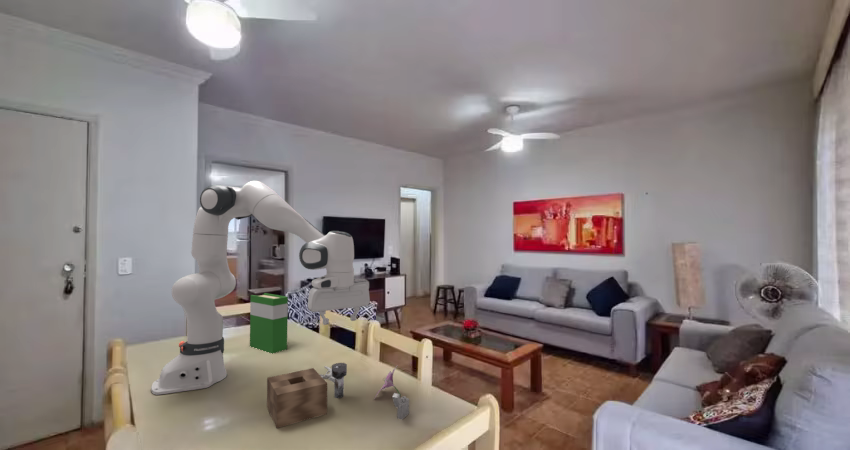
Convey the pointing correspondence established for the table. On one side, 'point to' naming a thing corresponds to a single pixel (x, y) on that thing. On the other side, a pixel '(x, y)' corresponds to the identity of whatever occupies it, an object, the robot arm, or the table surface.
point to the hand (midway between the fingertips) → (339, 322)
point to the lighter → (401, 405)
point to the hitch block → (296, 397)
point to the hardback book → (268, 322)
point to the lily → (388, 381)
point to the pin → (339, 378)
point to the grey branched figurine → (328, 374)
